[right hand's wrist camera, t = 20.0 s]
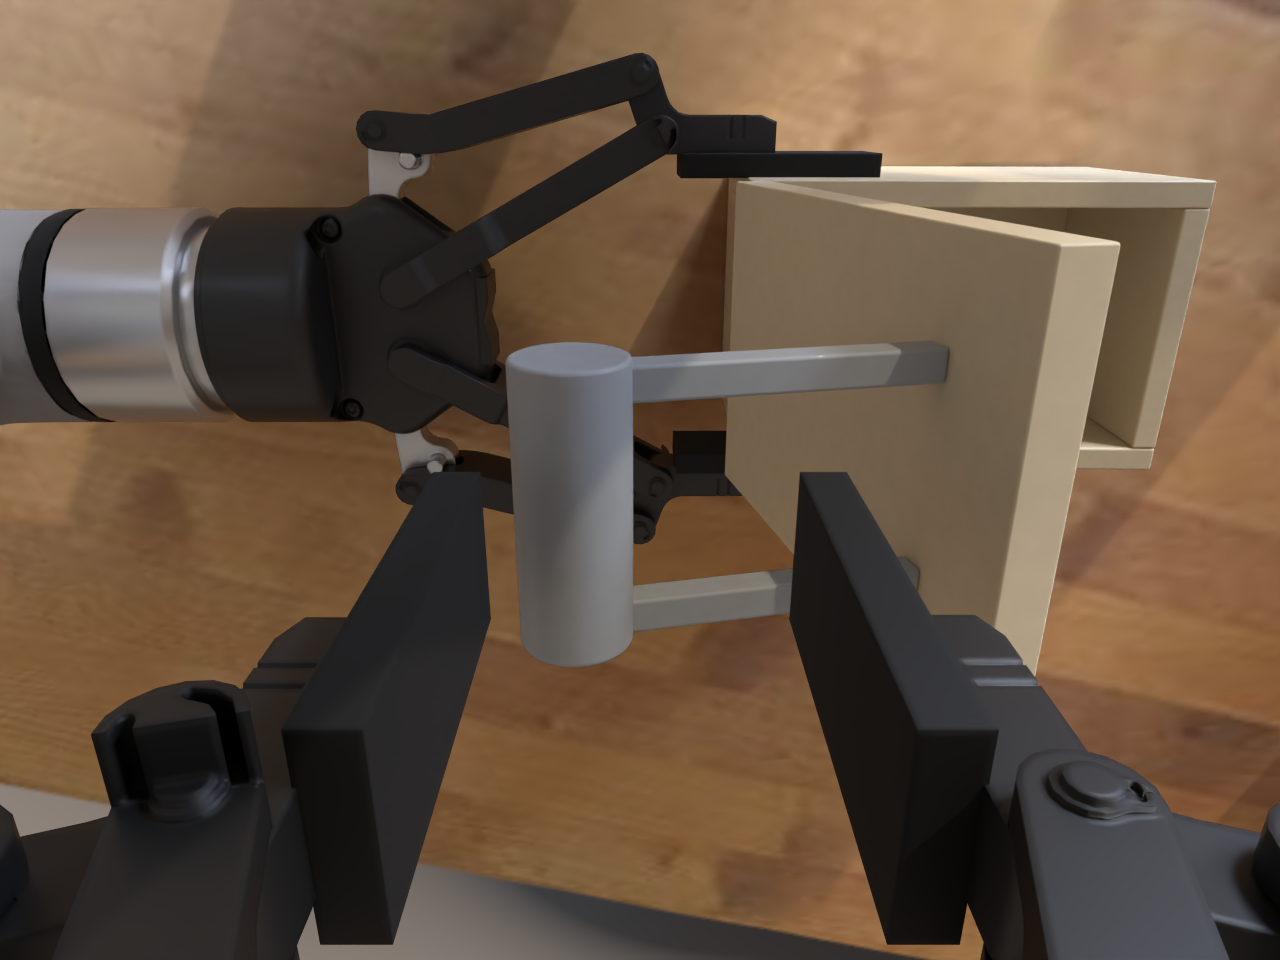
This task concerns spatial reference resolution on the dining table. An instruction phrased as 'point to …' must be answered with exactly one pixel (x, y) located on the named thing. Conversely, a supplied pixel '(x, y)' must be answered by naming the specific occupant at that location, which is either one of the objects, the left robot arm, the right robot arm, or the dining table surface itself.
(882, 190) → the chest
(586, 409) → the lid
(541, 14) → the dining table surface
